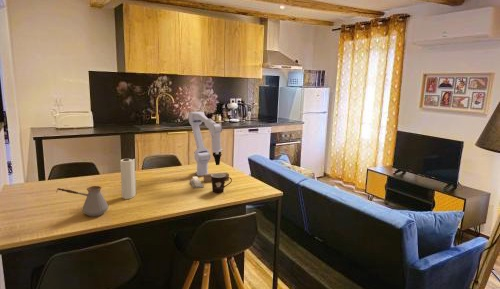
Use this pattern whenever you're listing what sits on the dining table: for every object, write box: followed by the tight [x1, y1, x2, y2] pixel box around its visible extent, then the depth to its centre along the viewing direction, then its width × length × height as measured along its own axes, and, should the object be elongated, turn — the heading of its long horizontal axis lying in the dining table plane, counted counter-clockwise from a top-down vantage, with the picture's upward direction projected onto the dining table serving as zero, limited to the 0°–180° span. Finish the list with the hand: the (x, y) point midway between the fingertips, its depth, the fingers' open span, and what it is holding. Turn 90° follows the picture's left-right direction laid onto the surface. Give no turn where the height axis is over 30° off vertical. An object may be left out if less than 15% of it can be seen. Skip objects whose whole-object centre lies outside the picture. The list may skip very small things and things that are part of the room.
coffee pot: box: [55, 185, 109, 217], centre depth 155 cm, size 21×12×15 cm, turn 120°
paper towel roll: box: [119, 158, 137, 200], centre depth 178 cm, size 7×6×21 cm
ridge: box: [189, 175, 205, 189], centre depth 206 cm, size 14×6×3 cm, turn 20°
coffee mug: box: [211, 172, 233, 194], centre depth 193 cm, size 12×9×10 cm
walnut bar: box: [203, 172, 230, 183], centre depth 215 cm, size 4×16×4 cm, turn 110°
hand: (217, 163), depth 210 cm, fingers open, 7 cm apart
